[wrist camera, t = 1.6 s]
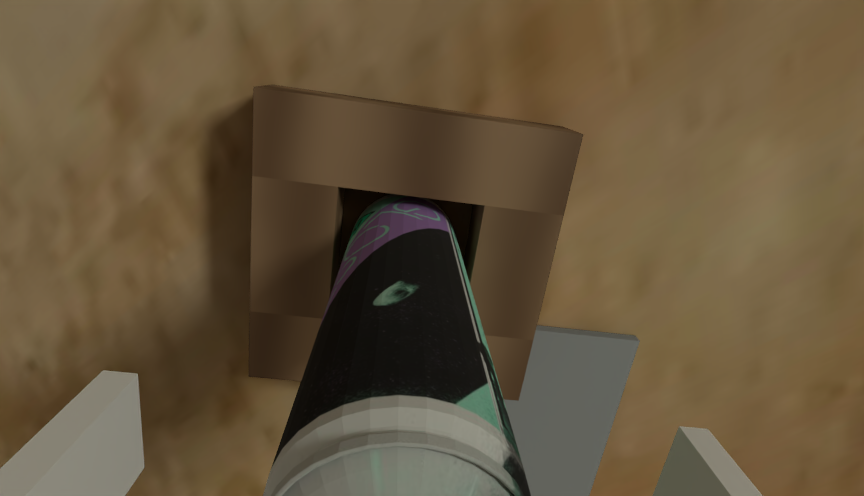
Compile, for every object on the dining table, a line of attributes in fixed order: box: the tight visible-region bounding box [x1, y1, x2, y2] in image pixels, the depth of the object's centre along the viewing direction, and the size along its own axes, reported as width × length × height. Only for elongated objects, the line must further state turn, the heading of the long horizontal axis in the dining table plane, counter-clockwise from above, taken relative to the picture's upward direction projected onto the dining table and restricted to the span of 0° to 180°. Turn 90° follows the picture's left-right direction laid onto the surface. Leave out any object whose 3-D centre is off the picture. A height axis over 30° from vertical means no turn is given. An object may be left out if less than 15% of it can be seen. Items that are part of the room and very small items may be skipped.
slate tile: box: [504, 325, 640, 496], centre depth 29 cm, size 12×12×1 cm
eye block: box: [249, 85, 583, 401], centre depth 24 cm, size 14×14×3 cm
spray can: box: [263, 194, 531, 496], centre depth 16 cm, size 6×6×20 cm
